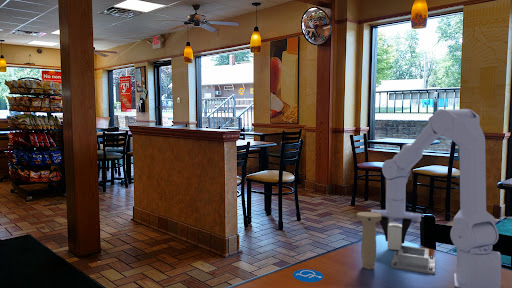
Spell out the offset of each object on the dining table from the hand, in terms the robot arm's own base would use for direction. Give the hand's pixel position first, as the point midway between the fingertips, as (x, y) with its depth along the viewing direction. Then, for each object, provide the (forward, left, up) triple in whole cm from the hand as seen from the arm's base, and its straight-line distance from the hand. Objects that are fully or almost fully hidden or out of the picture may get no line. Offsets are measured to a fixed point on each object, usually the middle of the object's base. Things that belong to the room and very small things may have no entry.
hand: (395, 241), depth 119 cm
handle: (+5, +18, -3) cm, 19 cm away
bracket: (-6, +10, -2) cm, 12 cm away
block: (0, 0, -2) cm, 2 cm away
